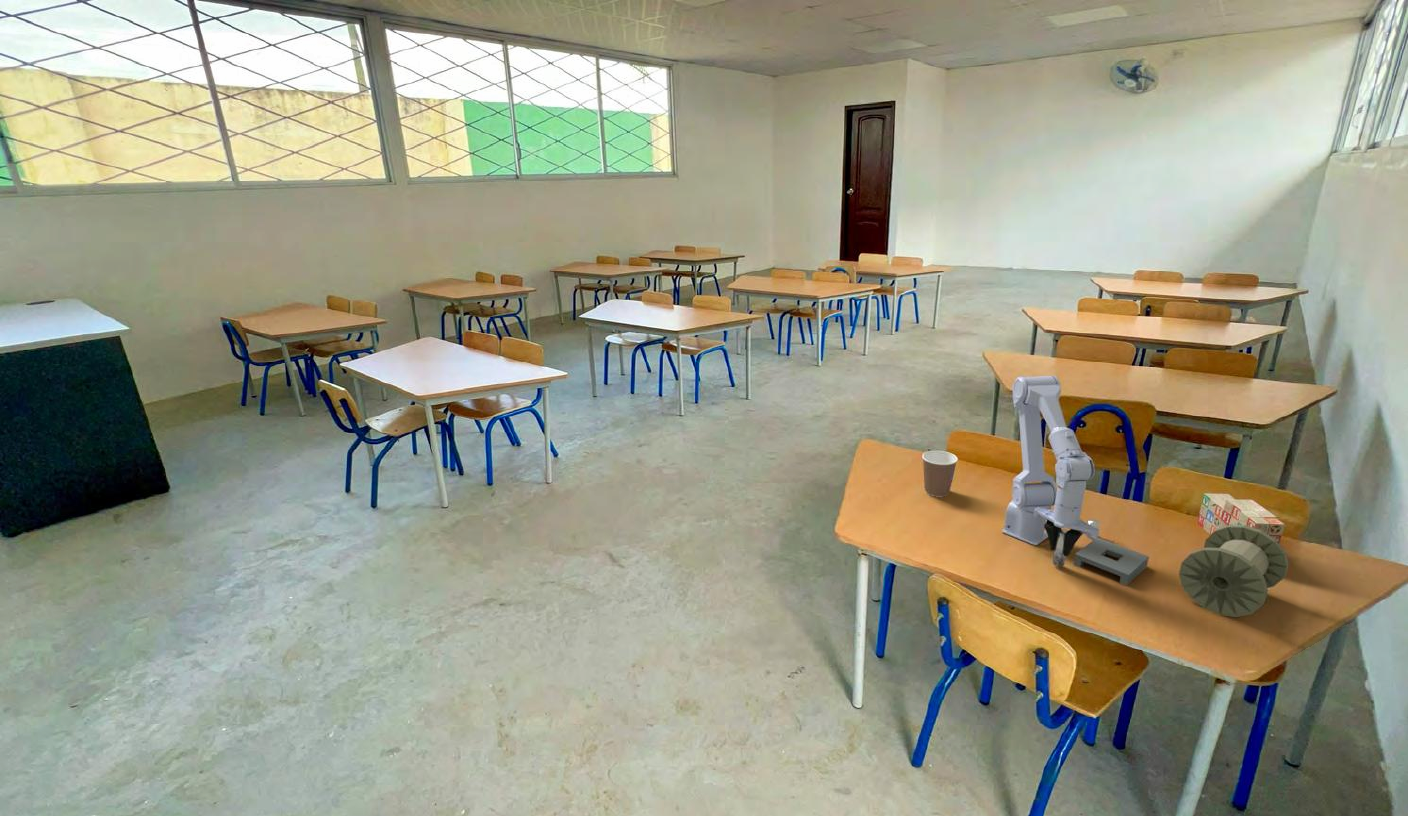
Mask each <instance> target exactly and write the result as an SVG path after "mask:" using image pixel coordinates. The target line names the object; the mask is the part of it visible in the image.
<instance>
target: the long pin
mask: <svg viewBox="0 0 1408 816" xmlns="http://www.w3.org/2000/svg"><path fill="white" fill-rule="evenodd" d="M1067 531H1068V530H1067V529H1063V528H1061V529H1059V530H1058V532H1057V538H1056V544H1055V550H1054V552H1053V557H1052V564H1053V565H1054V566H1056V567H1064V566H1065V562H1066V557H1067V556H1065V555H1064V549H1065V544H1066V536H1065V533H1066V532H1067Z"/></svg>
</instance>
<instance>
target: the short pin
mask: <svg viewBox="0 0 1408 816" xmlns="http://www.w3.org/2000/svg"><path fill="white" fill-rule="evenodd" d="M1087 523H1088V524H1089V525H1091V526H1093V527H1095V528H1098V529H1100V523H1101V522H1100V521H1099V520H1097V519H1094V518H1090V519H1088V521H1087ZM1085 537H1087V538H1088V539H1093V538H1091V537H1090V536H1089V535H1086V534H1085ZM1093 540H1094V539H1093Z"/></svg>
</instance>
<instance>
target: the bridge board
mask: <svg viewBox="0 0 1408 816" xmlns="http://www.w3.org/2000/svg"><path fill="white" fill-rule="evenodd" d="M1106 554H1107V555H1109V556H1112V557H1115V558H1118V560H1115V559H1112V558H1110V557H1107V556H1105V555H1106ZM1149 558H1150V556H1148V555H1146V554H1145V553H1141V552H1138V551H1136V550H1133V549H1130V548H1127V547H1125V546H1122V545H1119V544H1116V543H1114V542H1111V541H1109V540H1105V539H1103V538H1101V537H1099V536H1098V537H1097V538H1095V539H1093V540H1091V541H1090V542H1089V543H1087V544H1086V545H1085V546H1084V547H1083V548H1081V549H1080V550H1079V551H1077V552H1076V553H1075V555H1074V560H1073V565H1074V564H1075V566H1078V567H1082V566H1083V565H1085V564H1089V565H1091V566H1093V567H1096V568H1099V569H1101V570H1103V571H1106V572H1109V573H1111V574H1114V575H1116V576H1119V577H1120V578H1119V584H1121V585H1123V586H1125V587H1126V586H1128V585H1129V584H1130V583H1131V582H1132V581H1134V580H1135V578H1136V577H1137V576H1139V575H1140V574H1141V573H1142V572H1143V571H1144V570H1145V569H1146V568H1147V567H1148V563H1149V562H1148V561H1149Z"/></svg>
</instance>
